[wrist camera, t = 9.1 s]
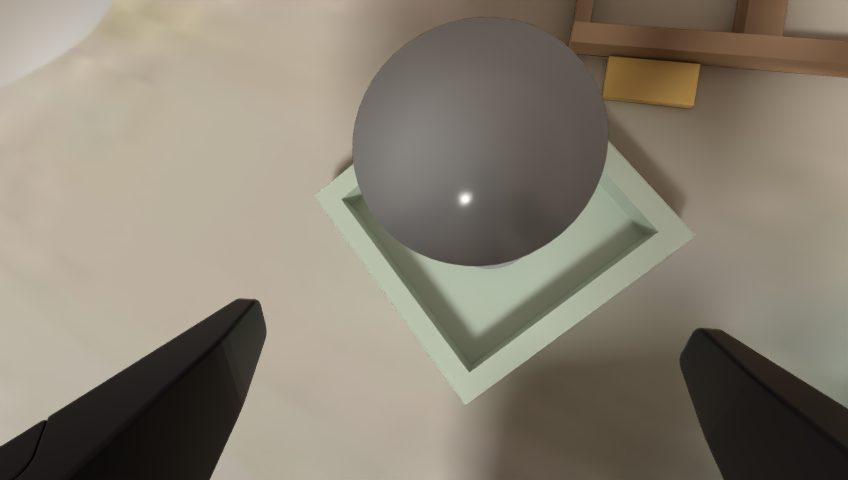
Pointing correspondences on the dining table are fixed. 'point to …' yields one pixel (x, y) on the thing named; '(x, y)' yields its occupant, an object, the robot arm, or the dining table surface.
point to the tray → (513, 276)
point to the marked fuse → (480, 142)
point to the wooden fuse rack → (698, 52)
